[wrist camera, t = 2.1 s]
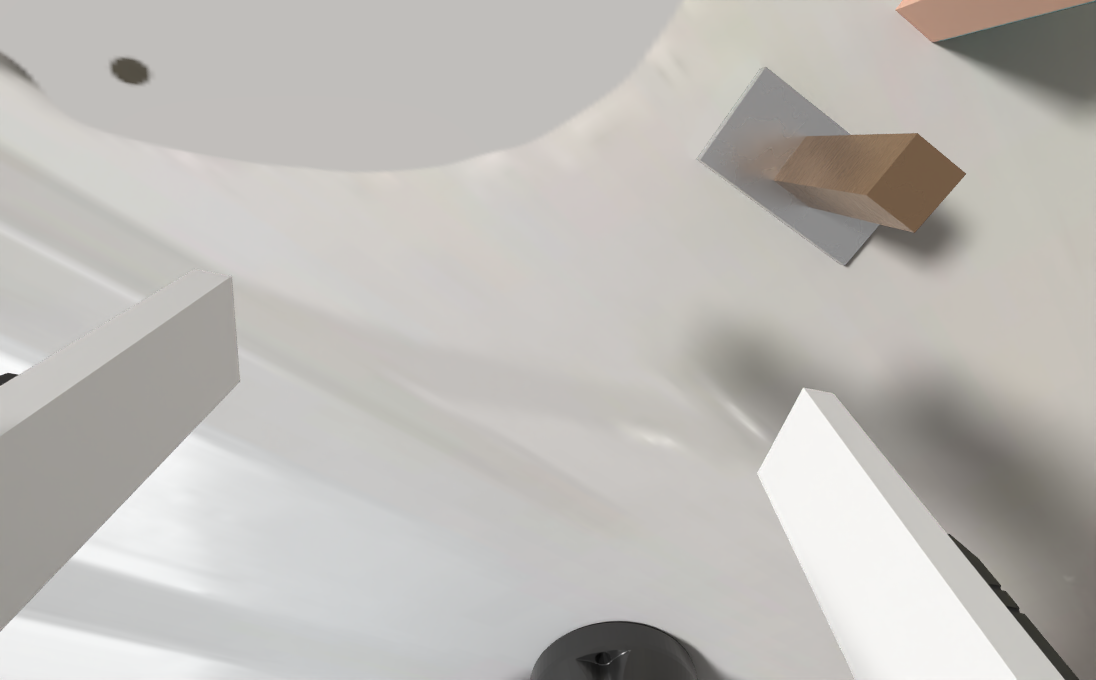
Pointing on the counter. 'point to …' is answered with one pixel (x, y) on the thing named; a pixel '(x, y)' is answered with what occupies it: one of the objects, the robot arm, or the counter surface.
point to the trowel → (825, 169)
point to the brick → (974, 14)
